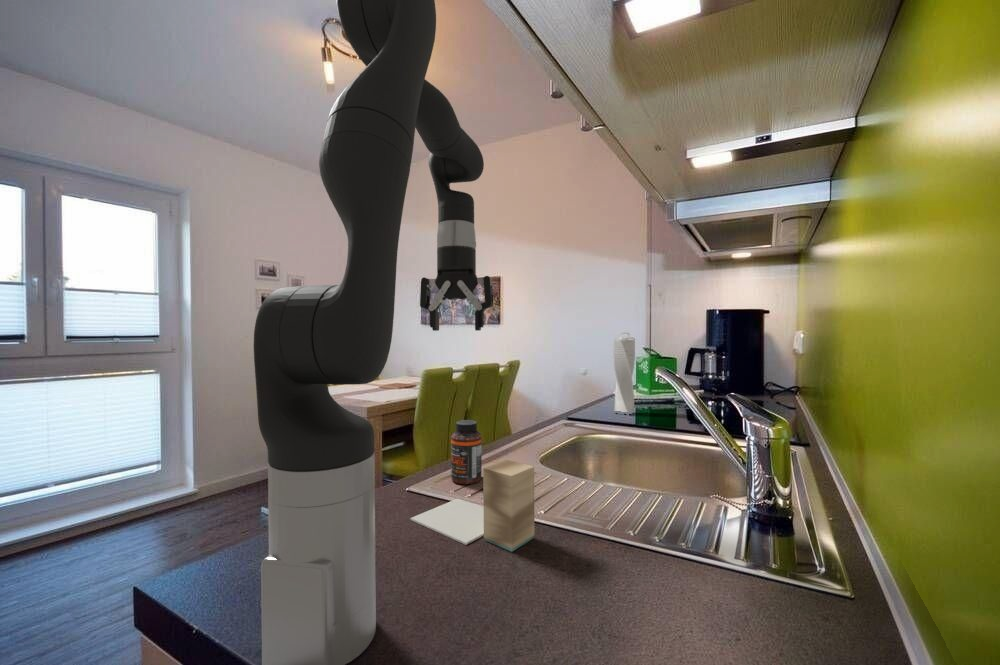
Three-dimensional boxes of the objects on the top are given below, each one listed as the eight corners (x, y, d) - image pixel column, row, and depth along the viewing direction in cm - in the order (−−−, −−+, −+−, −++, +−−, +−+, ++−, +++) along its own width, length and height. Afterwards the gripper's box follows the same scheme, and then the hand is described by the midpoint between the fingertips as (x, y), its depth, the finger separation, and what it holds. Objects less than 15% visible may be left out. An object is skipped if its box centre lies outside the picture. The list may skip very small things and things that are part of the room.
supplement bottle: (444, 482, 82) (444, 423, 82) (461, 473, 87) (461, 417, 87) (471, 487, 79) (471, 426, 79) (487, 477, 85) (487, 420, 85)
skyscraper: (618, 410, 154) (617, 332, 154) (639, 412, 149) (638, 332, 149) (610, 414, 147) (609, 332, 147) (631, 416, 143) (631, 332, 143)
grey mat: (512, 519, 66) (512, 517, 66) (466, 545, 58) (465, 542, 58) (457, 500, 73) (457, 498, 73) (410, 520, 66) (410, 518, 66)
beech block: (534, 538, 60) (534, 466, 60) (512, 552, 56) (511, 476, 56) (506, 527, 63) (506, 459, 63) (483, 540, 59) (483, 468, 59)
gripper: (414, 245, 81) (415, 330, 81) (488, 242, 79) (488, 330, 79) (428, 252, 89) (428, 330, 89) (495, 250, 86) (496, 330, 86)
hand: (456, 330), depth 84 cm, fingers open, 8 cm apart
